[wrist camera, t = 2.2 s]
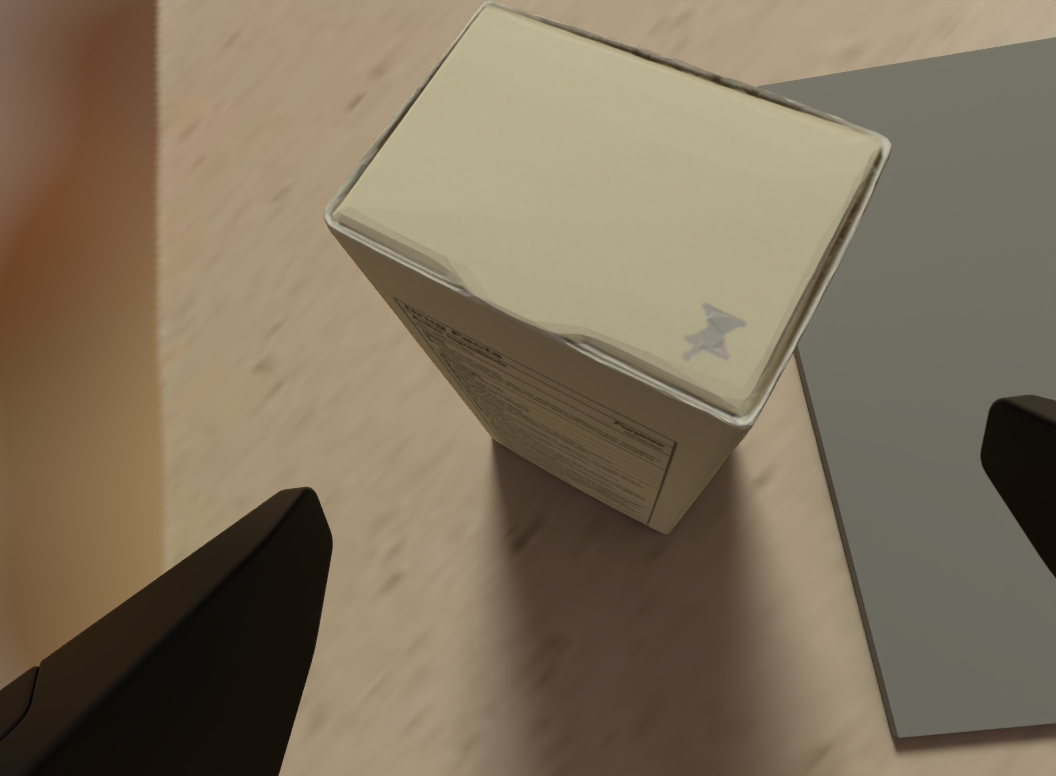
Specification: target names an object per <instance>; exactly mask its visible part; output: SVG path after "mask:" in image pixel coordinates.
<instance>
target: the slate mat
mask: <svg viewBox="0 0 1056 776" xmlns="http://www.w3.org/2000/svg"><path fill="white" fill-rule="evenodd" d="M757 88H759V89H762V90H766V91H769V92H772V93H774V94H777V95H780V96H782V97H785V98H787V99H789V100H794V101H798V102H800V103H802V104H804V105H807V106H809V107H811V108H814V109H817V110H819V111H822V112H825V113H828V114H830V115H833V116H836V117H840V118H842V119H844V120H846V121H848V122H850V123H852V124H855V125H858V126H860V127H863V128H866V129H869V130H872V131H875V132H877V133H879V134H881V135H883V136H884V137H886V138H888V140H889V141H890V143H891V145H892V150H891V154H890V158H889V160H888V162H887V164H886V166H885V168H884V170H883V172H882V174H881V176H880V179H879V181H878V184H877V186H876V188H875V191H874V193H873V195H872V198H871V200H870V202H869V205H868V207H867V209H866V211H865V213H864V215H863V217H862V219H861V222H860V224H859V226H858V228H857V230H856V232H855V234H854V236H853V238H852V240H851V243H850V245H849V247H848V249H847V251H846V253H845V255H844V257H843V259H842V261H841V263H840V265H839V267H838V269H837V271H836V273H835V275H834V277H833V279H832V281H831V282H830V284H829V286H828V288H827V290H826V292H825V294H824V296H823V298H822V300H821V301H820V303H819V305H818V307H817V309H816V311H815V313H814V315H813V317H812V318H811V320H810V322H809V324H808V326H807V328H806V330H805V332H804V334H803V336H802V337H801V339H800V341H799V343H798V345H797V347H796V349H795V351H794V353H795V357H796V361H797V365H798V369H799V373H800V377H801V381H802V384H803V388H804V392H805V396H806V400H807V404H808V408H809V412H810V416H811V420H812V424H813V428H814V432H815V436H816V439H817V443H818V447H819V451H820V455H821V459H822V463H823V467H824V471H825V475H826V479H827V483H828V487H829V491H830V494H831V498H832V502H833V506H834V510H835V514H836V518H837V522H838V526H839V530H840V534H841V538H842V542H843V545H844V549H845V553H846V557H847V561H848V565H849V569H850V573H851V577H852V581H853V585H854V589H855V593H856V597H857V600H858V604H859V608H860V612H861V616H862V620H863V624H864V628H865V632H866V636H867V640H868V644H869V648H870V652H871V655H872V659H873V663H874V667H875V671H876V675H877V679H878V683H879V687H880V691H881V695H882V699H883V703H884V707H885V710H886V714H887V718H888V722H889V726H890V730H891V734H892V735H894V736H896V737H898V738H903V737H913V736H924V735H935V734H945V733H956V732H967V731H977V730H988V729H999V728H1010V727H1020V726H1031V725H1042V724H1052V723H1056V578H1055V577H1054V576H1053V574H1052V573H1051V572H1050V570H1049V569H1048V568H1047V566H1046V565H1045V563H1044V562H1043V560H1042V559H1041V558H1040V556H1039V555H1038V553H1037V552H1036V550H1035V549H1034V547H1033V546H1032V544H1031V543H1030V541H1029V539H1028V538H1027V536H1026V535H1025V533H1024V532H1023V530H1022V529H1021V527H1020V526H1019V524H1018V523H1017V521H1016V519H1015V518H1014V516H1013V515H1012V513H1011V512H1010V510H1009V509H1008V507H1007V506H1006V504H1005V503H1004V501H1003V499H1002V498H1001V496H1000V495H999V493H998V492H997V490H996V489H995V487H994V486H993V484H992V483H991V481H990V479H989V478H988V476H987V475H986V473H985V471H984V469H983V467H982V464H981V458H980V452H981V446H982V441H983V436H984V431H985V427H986V422H987V417H988V412H989V409H990V406H991V405H992V403H993V402H994V401H996V400H997V399H999V398H1005V397H1012V396H1020V395H1036V396H1040V397H1044V398H1048V399H1052V400H1056V37H1055V38H1049V39H1043V40H1037V41H1031V42H1025V43H1018V44H1012V45H1006V46H1000V47H994V48H988V49H982V50H976V51H970V52H964V53H958V54H952V55H946V56H940V57H934V58H928V59H922V60H916V61H909V62H903V63H897V64H891V65H885V66H879V67H873V68H867V69H861V70H855V71H849V72H843V73H837V74H831V75H825V76H819V77H813V78H806V79H800V80H794V81H788V82H782V83H776V84H770V85H764V86H758V87H757Z"/></svg>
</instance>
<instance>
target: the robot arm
mask: <svg viewBox="0 0 1056 776" xmlns="http://www.w3.org/2000/svg"><path fill="white" fill-rule="evenodd" d="M980 458H981V464H982V467H983V469H984V471H985V473H986V475H987V476H988V478H989V479H990V481H991V483H992V484H993V486H994V487H995V489H996V490H997V492H998V493H999V495H1000V496H1001V498H1002V499H1003V501H1004V503H1005V504H1006V506H1007V507H1008V509H1009V510H1010V512H1011V513H1012V515H1013V516H1014V518H1015V519H1016V521H1017V523H1018V524H1019V526H1020V527H1021V529H1022V530H1023V532H1024V533H1025V535H1026V536H1027V538H1028V539H1029V541H1030V543H1031V544H1032V546H1033V547H1034V549H1035V550H1036V552H1037V553H1038V555H1039V556H1040V558H1041V559H1042V560H1043V562H1044V563H1045V565H1046V566H1047V568H1048V569H1049V570H1050V572H1051V573H1052V574H1053V576H1054V577H1055V578H1056V400H1052V399H1048V398H1044V397H1040V396H1036V395H1020V396H1012V397H1005V398H999V399H997V400H996V401H994V402H993V403H992V405H991V406H990V409H989V412H988V417H987V422H986V427H985V431H984V436H983V441H982V446H981V452H980ZM332 549H333V540H332V534H331V531H330V528H329V525H328V523H327V520H326V517H325V515H324V512H323V509H322V507H321V504H320V501H319V499H318V496H317V494H316V492H315V491H314V490H313V489H312V488H310V487H300V488H292V489H284V490H281V491H279V492H278V493H276V494H275V495H274V496H272V497H271V498H269V499H268V500H267V501H265V502H264V503H262V504H261V505H260V506H258V507H257V508H255V509H254V510H253V511H251V512H250V513H248V514H247V515H246V516H244V517H243V518H241V519H240V520H239V521H237V522H236V523H234V524H233V525H232V526H230V527H229V528H227V529H226V530H225V531H223V532H222V533H220V534H219V535H218V536H216V537H215V538H213V539H212V540H211V541H209V542H208V543H206V544H205V545H204V546H202V547H201V548H199V549H198V550H196V551H195V552H194V553H192V554H191V555H189V556H188V557H187V558H185V559H184V560H182V561H181V562H180V563H178V564H177V565H175V566H174V567H173V568H171V569H170V570H168V571H167V572H166V573H164V574H163V575H161V576H160V577H159V578H157V579H156V580H154V581H153V582H152V583H150V584H149V585H147V586H146V587H145V588H143V589H142V590H140V591H139V592H138V593H136V594H135V595H133V596H132V597H131V598H129V599H128V600H126V601H125V602H124V603H122V604H121V605H119V606H118V607H117V608H115V609H114V610H112V611H111V612H109V613H108V614H107V615H105V616H104V617H103V618H101V619H100V620H98V621H97V622H95V623H94V624H93V625H91V626H90V627H88V628H87V629H86V630H84V631H83V632H81V633H80V634H79V635H77V636H76V637H74V638H73V639H72V640H70V641H69V642H67V643H66V644H65V645H63V646H62V647H61V648H59V649H58V650H56V651H55V652H53V653H52V654H51V655H50V656H48V657H46V658H45V659H44V660H42V661H41V663H40V666H39V667H37V666H34V667H32V668H31V669H29V670H28V671H26V672H25V673H24V674H22V675H21V676H19V677H18V678H17V679H15V680H14V681H12V682H11V683H10V684H8V685H7V686H5V687H4V688H3V689H2V690H0V776H279V772H280V769H281V766H282V762H283V759H284V755H285V752H286V748H287V745H288V741H289V738H290V735H291V731H292V728H293V724H294V721H295V717H296V714H297V711H298V707H299V704H300V700H301V697H302V693H303V690H304V687H305V683H306V680H307V676H308V673H309V669H310V666H311V662H312V658H313V654H314V651H315V646H316V641H317V636H318V631H319V625H320V620H321V614H322V608H323V602H324V596H325V590H326V585H327V579H328V573H329V567H330V561H331V556H332Z"/></svg>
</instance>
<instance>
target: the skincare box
mask: <svg viewBox="0 0 1056 776" xmlns="http://www.w3.org/2000/svg"><path fill="white" fill-rule="evenodd" d="M891 150H892V145H891V143H890V141H889V140H888V138H886V137H884V136H883V135H881V134H879V133H877V132H875V131H872V130H869V129H866V128H863V127H860V126H858V125H855V124H852V123H850V122H848V121H846V120H844V119H842V118H840V117H836V116H833V115H830V114H828V113H825V112H822V111H819V110H817V109H814V108H811V107H809V106H807V105H804V104H802V103H800V102H798V101H794V100H789V99H787V98H785V97H782V96H780V95H777V94H774V93H772V92H769V91H766V90H762V89H759V88H757V87H756V86H754V85H750V84H747V83H743V82H740V81H737V80H734V79H732V78H729V77H726V76H724V75H721V74H718V73H715V72H711V71H707V70H704V69H701V68H699V67H696V66H693V65H691V64H688V63H685V62H682V61H679V60H676V59H673V58H670V57H666V56H663V55H660V54H657V53H654V52H652V51H649V50H646V49H643V48H639V47H636V46H633V45H630V44H627V43H625V42H622V41H618V40H616V39H613V38H609V37H605V36H602V35H599V34H597V33H594V32H591V31H588V30H585V29H582V28H578V27H575V26H571V25H568V24H564V23H561V22H557V21H555V20H552V19H549V18H546V17H542V16H539V15H535V14H531V13H528V12H525V11H522V10H519V9H516V8H513V7H510V6H506V5H503V4H500V3H497V2H494V1H485V2H483V3H482V4H481V5H480V6H479V7H478V9H477V10H476V11H475V12H474V14H473V15H472V16H471V18H470V19H469V20H468V22H467V23H466V24H465V26H464V27H463V29H462V30H461V31H460V33H459V34H458V35H457V36H456V38H455V39H454V40H453V41H452V43H451V44H450V45H449V46H448V47H447V49H446V50H445V51H444V52H443V53H442V55H441V56H440V57H439V58H438V60H437V61H436V63H435V64H434V65H433V67H432V68H431V69H430V70H429V71H428V73H427V74H426V75H425V77H424V78H423V79H422V80H421V82H420V83H419V84H418V85H417V86H416V87H415V88H414V90H413V91H412V93H411V94H410V95H409V97H408V98H407V99H406V101H405V102H404V103H403V105H402V106H401V107H400V109H399V110H398V112H397V113H396V114H395V116H394V117H393V118H392V120H391V121H390V122H389V123H388V125H387V126H386V127H385V128H384V129H383V131H382V132H381V133H380V135H379V136H378V138H377V139H376V140H375V141H374V142H373V144H372V145H371V146H370V147H369V149H368V150H367V151H366V153H365V154H364V156H363V157H362V158H361V160H360V161H359V162H358V164H357V165H356V166H355V168H354V169H353V170H352V172H351V173H350V174H349V176H348V177H347V178H346V180H345V181H344V182H343V184H342V185H341V186H340V187H339V189H338V190H337V191H336V193H335V194H334V195H333V197H332V198H331V199H330V201H329V202H328V203H327V205H326V206H325V210H324V220H325V222H326V224H327V226H328V228H329V230H330V231H331V233H332V234H333V235H334V237H335V238H336V239H337V240H338V242H339V243H340V244H341V245H342V247H343V248H344V249H345V251H346V252H347V253H348V254H349V256H350V257H351V258H352V259H353V261H354V262H355V263H356V265H357V266H358V267H359V268H360V270H361V271H362V272H363V273H364V275H365V276H366V277H367V278H368V280H369V281H370V282H371V284H372V285H373V286H374V287H375V289H376V290H377V291H378V292H379V294H380V295H381V296H382V297H383V299H384V300H385V301H386V303H387V304H388V305H389V306H390V308H391V309H392V310H393V311H394V313H395V314H396V315H397V316H398V318H399V319H400V320H401V322H402V323H403V324H404V326H405V327H406V328H407V329H408V331H409V332H410V333H411V335H412V336H413V337H414V339H415V340H416V341H417V342H418V344H419V345H420V346H421V347H422V349H423V350H424V351H425V353H426V354H427V355H428V356H429V358H430V359H431V360H432V362H433V363H434V364H435V365H436V367H437V368H438V369H439V370H440V372H441V373H442V374H443V375H444V377H445V378H446V379H447V380H448V382H449V383H450V384H451V386H452V387H453V388H454V389H455V391H456V392H457V393H458V395H459V396H460V397H461V398H462V400H463V401H464V402H465V403H466V405H467V406H468V407H469V409H470V410H471V411H472V412H473V414H474V415H475V416H476V418H477V419H478V420H479V421H480V423H481V424H482V425H483V427H484V428H485V429H486V431H487V432H488V433H489V434H490V436H491V437H492V438H493V439H494V440H495V441H497V442H498V443H500V444H502V445H503V446H505V447H506V448H508V449H510V450H511V451H513V452H515V453H516V454H518V455H519V456H521V457H523V458H525V459H526V460H528V461H530V462H531V463H533V464H535V465H537V466H538V467H540V468H542V469H543V470H545V471H547V472H549V473H550V474H552V475H554V476H556V477H557V478H559V479H561V480H563V481H565V482H566V483H568V484H570V485H572V486H574V487H576V488H577V489H579V490H581V491H583V492H585V493H586V494H588V495H590V496H592V497H594V498H595V499H597V500H599V501H601V502H603V503H605V504H606V505H608V506H610V507H612V508H614V509H616V510H618V511H620V512H622V513H623V514H625V515H627V516H629V517H631V518H633V519H635V520H637V521H639V522H641V523H643V524H645V525H647V526H649V527H651V528H653V529H655V530H656V531H658V532H661V533H663V534H669V533H670V532H671V531H672V529H673V528H674V527H675V526H676V524H677V523H678V522H679V521H680V519H681V518H682V517H683V515H684V514H685V513H686V512H687V510H688V509H689V508H690V506H691V505H692V504H693V502H694V501H695V500H696V499H697V497H698V496H699V495H700V493H701V492H702V491H703V489H704V488H705V487H706V485H707V484H708V483H709V481H710V480H711V479H712V477H713V476H714V475H715V473H716V472H717V471H718V470H719V468H720V467H721V466H722V464H723V463H724V462H725V460H726V459H727V458H728V457H729V455H730V454H731V453H732V451H733V450H734V449H735V448H736V446H737V445H738V444H739V443H740V442H741V441H742V439H743V438H744V437H745V436H746V434H747V433H748V432H749V430H750V429H751V428H752V426H753V425H754V423H755V421H756V420H757V418H758V416H759V414H760V413H761V411H762V409H763V407H764V405H765V404H766V402H767V400H768V398H769V396H770V394H771V393H772V391H773V389H774V387H775V385H776V383H777V382H778V380H779V378H780V376H781V374H782V372H783V371H784V369H785V367H786V365H787V363H788V361H789V360H790V358H791V356H792V354H793V352H794V351H795V349H796V347H797V345H798V343H799V341H800V339H801V337H802V336H803V334H804V332H805V330H806V328H807V326H808V324H809V322H810V320H811V318H812V317H813V315H814V313H815V311H816V309H817V307H818V305H819V303H820V301H821V300H822V298H823V296H824V294H825V292H826V290H827V288H828V286H829V284H830V282H831V281H832V279H833V277H834V275H835V273H836V271H837V269H838V267H839V265H840V263H841V261H842V259H843V257H844V255H845V253H846V251H847V249H848V247H849V245H850V243H851V240H852V238H853V236H854V234H855V232H856V230H857V228H858V226H859V224H860V222H861V219H862V217H863V215H864V213H865V211H866V209H867V207H868V205H869V202H870V200H871V198H872V195H873V193H874V191H875V188H876V186H877V184H878V181H879V179H880V176H881V174H882V172H883V170H884V168H885V166H886V164H887V162H888V160H889V158H890V154H891Z"/></svg>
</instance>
